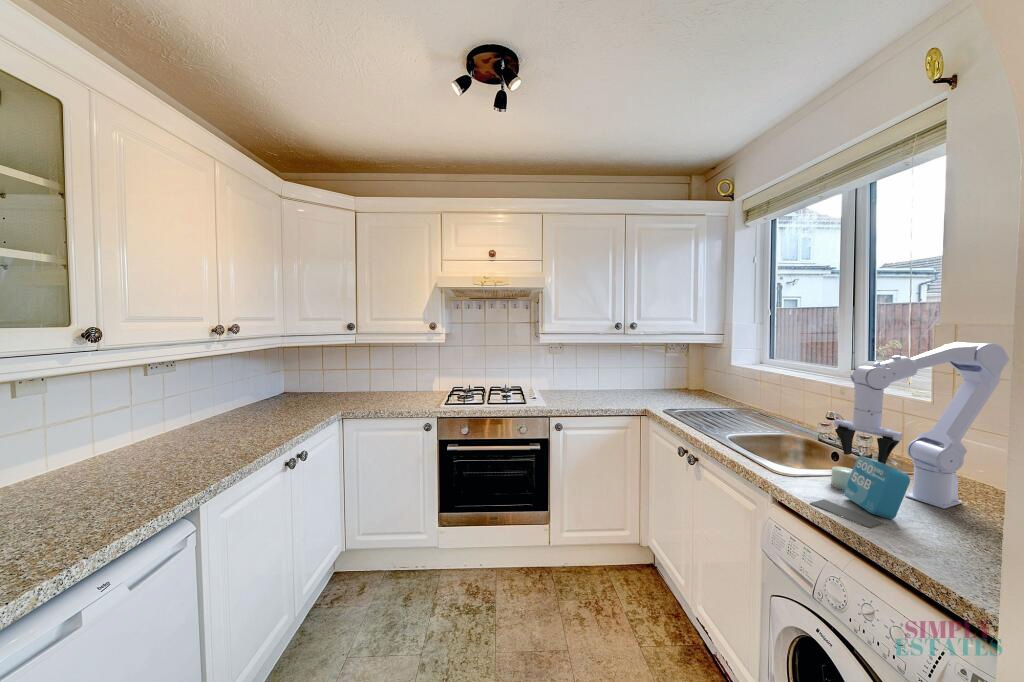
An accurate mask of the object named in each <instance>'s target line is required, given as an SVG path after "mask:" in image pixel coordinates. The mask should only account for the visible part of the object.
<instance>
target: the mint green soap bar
mask: <svg viewBox="0 0 1024 682" xmlns="http://www.w3.org/2000/svg"><path fill="white" fill-rule="evenodd" d="M852 470H853V468H851V467H850V468H849V467H844V466H832V467H831V478H830V479H831V482H830V483H831V486H832V485H833V486H832V487H833V488H835V489H838V488H839V490H841V489H842V491H844V490H845V487H846V485H847V482H848V480H849V478H850V475H851V473H852Z"/></svg>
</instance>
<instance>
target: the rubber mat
mask: <svg viewBox="0 0 1024 682" xmlns="http://www.w3.org/2000/svg"><path fill="white" fill-rule="evenodd" d="M809 505H811V506H813V507H816V508H819V509H820V510H821V509H822V510H823V511H825V512H828V511H829V512H828V513H831V512H832V513H831V514H833V513H834V514H833V515H836V514H837V515H836V516H838V515H840V516H843V517H845V518H847V519H846V520H848V519H849V520H848V521H850V520H851V521H850V522H853V521H854V522H853V523H855V522H857V523H856V524H858V525H860V524H861V525H860V526H863V525H864V526H863V527H865V526H866V528H868V529H872V528H873V527H874V526H875V527H877V526H881V525H884V524H885V521H883V520H880V519H876V518H875V517H872V516H869V515H866V514H864V513H861V512H858V511H856V510H853V509H851V508H848V507H846V506H843V505H840V504H837V503H835V502H832V501H829V500H828V499H824V498H823V499H820V500H816V501H812V502H809ZM840 516H839V517H840ZM843 517H842V518H843ZM845 518H844V519H845ZM871 527H872V528H871ZM875 527H874V528H875Z"/></svg>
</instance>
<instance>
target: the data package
mask: <svg viewBox="0 0 1024 682" xmlns="http://www.w3.org/2000/svg"><path fill="white" fill-rule="evenodd" d="M852 469H853V470H852V473H851V475H850V478H849V480H848V482H847V485H846V487H845V490H843V491H844V493H843V494H844V496H845V497H846V498H847V499H849V500H851V501H852V502H854V503H855V504H856V505H858V506H859V507H861V508H863V509H864V510H865V511H867V512H868V513H870V514H873V515H876V516H879V517H882V518H885V519H888V520H894V519H895V518H896V516H897V515H898V512H899V509H900V507H901V505H902V502H903V500H904V497H906V496H905V494H907V491H908V488H909V486H910V483H911V478H910V476H909V474H907V473H905V472H902V471H900V469H899V470H898V469H896V468H894V467H893V466H890V465H888V464H884V463H881V462H878V460H876V459H874V458H873V459H872V458H870V457H866V456H863V455H860V456H859V457H857V459H856V460H855V463H854V465H853V468H852Z"/></svg>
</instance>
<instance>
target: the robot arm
mask: <svg viewBox="0 0 1024 682" xmlns="http://www.w3.org/2000/svg"><path fill="white" fill-rule="evenodd" d="M1009 361H1010V357H1009V356H1008V353H1007V352H1006V350H1005V348H1004V347H1003V346H1002V345H1000V344H999V343H979V342H978V343H977V342H964V341H954V342H951V343H945V344H943V345H942V346H940V347H937V348H935V349H932V350H929V351H925V352H923V353H920V354H918V355H916V356H912V357H908V356H905V355H892V356H891V358H890V359H888V360H887V359H886V360H885V361H881V362H879V361H875V362H873V363H872V365H871V366H869V365H861V366H858V367H856V368H855V369H854V371H853V372H852V374H850V380H851V383H853V384H854V403H853V413H852V414H853V418H852V421H851V420H850V421H849V420H843V419H834V420H833V427H836V428H835V430H834V431H835V433H836V435H837V436H838V439H839V441H840V443H841V447H842V450H843V455H846V456H847V455H851V454H852V451H853V440H854V437H855V433H856V432H861V433H866V434H868V435H869V434H870V435H872V436H879V437H877V438H876V441H877V448H878V449H877V451H878V454H877V461H878V462H881V463H884V464H886V463H887V461H888V458H889V456H890V454H891V453H892V451H893V450H894V448H896V446H898V444H899V443H900V441H902V440H903V432H900V431H894V430H892V429H889V428H885V427H882V418H883V406H884V405H883V403H884V391H885V389H887V388H888V387H889V386H891V383H894V382H898V381H900V380H901V381H902V380H904V379H908V378H910V377H914V376H916V375H917V372H918V371H919V370H921V369H926V368H930V367H935V366H937V365H938V366H939V365H942V364H946V363H949V364H950V366H951V367H953V368H954V369H955V370H956V371H957V372H958V373H959V375H961V376H962V378H963V382H962V383H961V384H960V386H959V388H958V390H957V391H956V393H955V394H954V396H953V397H952V398H951V401H950V402H949V403H948V405H947V406H946V408H945V409H944V411H943V412H942V414H941V416H940V417H939V419H938V420H937V421H936V423H935V425H934V426H933V428H932V429H930V430H926V431H924V432H921V433H919V435H918V436H917V437H916V438H915V439H914V440H912V441H910V442H909V443H908V445H907V447H906V453H907V455H908V457H910V458H911V459H912V463H913V481H912V482H913V483H912V492H909V493H905V496H904V497H906V498H910V499H913V500H916V501H919V502H923V503H926V504H928V505H932V506H934V507H938V508H941V509H948V508H950V507H953V506H957V505H959V504H960V505H961V504H962V503H963V501H962V500H960V499H958V495H959V494H958V493H959V477H958V476H959V475H957V471H959V470H960V469H962V468H963V465H964V463H965V462H964V460H965V456H966V454H967V452H968V450H967V448H966V447H965V445H964V444H963V443H962V440H963V438H964V436H965V435H966V434H967V432H968V430H969V429H970V427H971V426H972V424H973V423H974V422H975V419H976V418H977V417H978V415H979V414H980V412H981V411H982V409H983V408H984V406H985V405H986V403H987V402H988V400H989V399H990V397H991V396H992V394H993V393H994V391H995V390H996V388H997V386H998V385H999V383H1000V381H1001V374H1002V371H1003V370H1004V368H1005V367H1006V365H1007V364H1008V362H1009ZM886 465H887V464H886Z"/></svg>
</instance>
